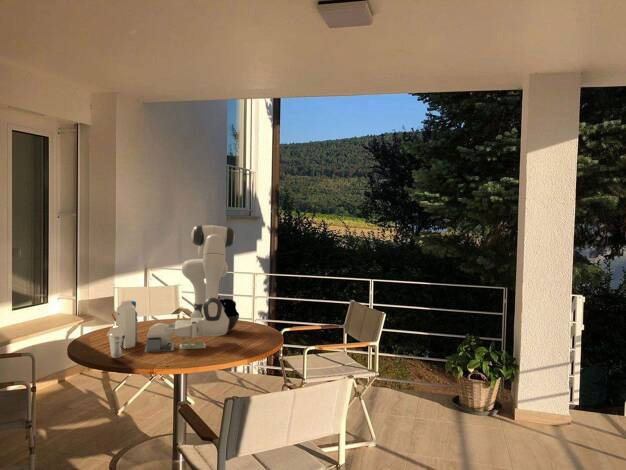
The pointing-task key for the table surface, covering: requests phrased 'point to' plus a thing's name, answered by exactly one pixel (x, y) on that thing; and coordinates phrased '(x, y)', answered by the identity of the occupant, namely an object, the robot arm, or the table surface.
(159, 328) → the plate
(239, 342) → the table surface
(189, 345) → the plate stand
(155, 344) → the dish rack
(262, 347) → the table surface
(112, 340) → the cup with straw
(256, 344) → the table surface
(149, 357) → the table surface
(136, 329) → the beverage bottle
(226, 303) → the bowl of black rocks
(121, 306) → the milk
